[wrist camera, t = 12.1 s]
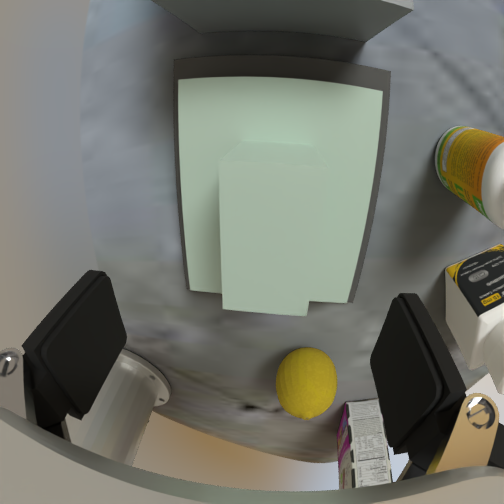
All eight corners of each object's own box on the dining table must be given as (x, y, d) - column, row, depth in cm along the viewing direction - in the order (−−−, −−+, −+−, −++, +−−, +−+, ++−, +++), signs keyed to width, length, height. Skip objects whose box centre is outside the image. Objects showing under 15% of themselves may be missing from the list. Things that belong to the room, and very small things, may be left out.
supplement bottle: (423, 178, 18) (501, 238, 9) (443, 113, 15) (535, 135, 7) (471, 201, 18) (545, 262, 9) (491, 142, 15) (576, 180, 7)
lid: (342, 285, 22) (359, 366, 15) (197, 273, 23) (163, 348, 16) (371, 92, 15) (430, 88, 8) (190, 81, 16) (125, 72, 9)
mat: (351, 296, 23) (352, 302, 23) (189, 283, 25) (186, 289, 24) (386, 72, 14) (390, 71, 14) (178, 61, 16) (173, 59, 15)
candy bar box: (366, 430, 36) (372, 521, 22) (336, 434, 37) (337, 526, 22) (381, 395, 31) (397, 510, 16) (344, 400, 31) (351, 519, 17)
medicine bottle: (500, 241, 19) (573, 322, 8) (496, 296, 22) (546, 378, 11) (443, 266, 21) (507, 369, 10) (444, 321, 24) (486, 416, 13)
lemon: (344, 347, 26) (353, 416, 20) (304, 372, 29) (304, 436, 22) (307, 321, 25) (309, 394, 18) (266, 349, 28) (258, 418, 21)
